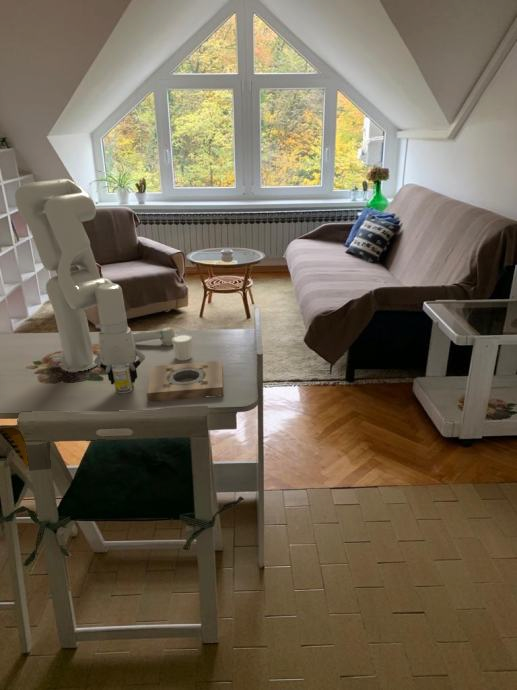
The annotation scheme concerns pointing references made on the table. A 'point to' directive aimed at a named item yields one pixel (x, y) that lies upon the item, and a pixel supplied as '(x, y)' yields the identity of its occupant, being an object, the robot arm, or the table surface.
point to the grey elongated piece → (156, 336)
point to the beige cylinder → (182, 346)
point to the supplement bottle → (122, 378)
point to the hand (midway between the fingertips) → (123, 380)
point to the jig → (169, 388)
